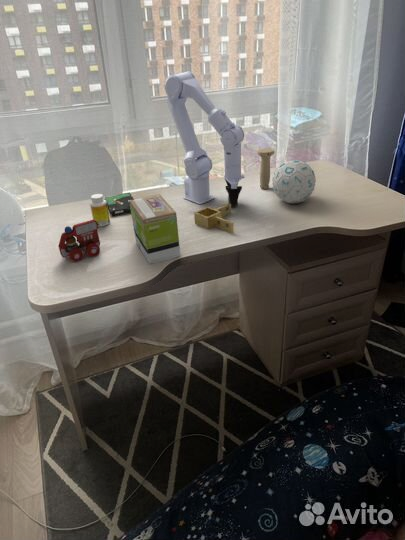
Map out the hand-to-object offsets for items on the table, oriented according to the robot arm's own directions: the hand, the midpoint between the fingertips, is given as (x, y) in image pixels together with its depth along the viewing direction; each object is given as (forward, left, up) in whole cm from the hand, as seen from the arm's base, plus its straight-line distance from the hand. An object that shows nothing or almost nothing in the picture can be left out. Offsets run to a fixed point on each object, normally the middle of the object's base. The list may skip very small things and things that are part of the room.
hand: (233, 200), depth 148 cm
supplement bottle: (-25, -40, -2) cm, 47 cm away
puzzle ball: (+14, +17, -2) cm, 22 cm away
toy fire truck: (-11, -56, -3) cm, 57 cm away
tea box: (+4, -39, -2) cm, 39 cm away
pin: (0, 0, -2) cm, 2 cm away
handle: (-2, +21, -2) cm, 21 cm away
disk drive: (-32, -27, -3) cm, 42 cm away
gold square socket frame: (+7, -12, -2) cm, 14 cm away
